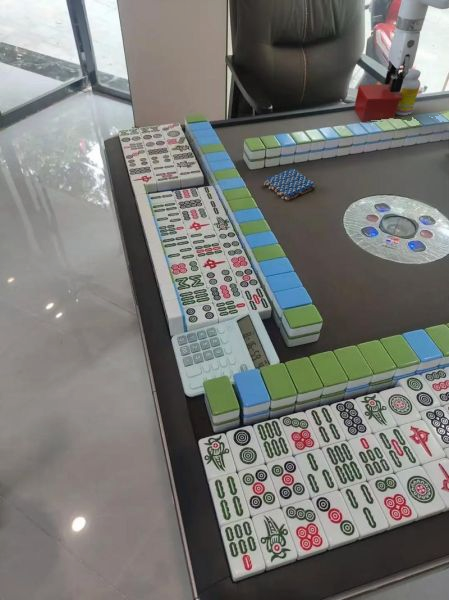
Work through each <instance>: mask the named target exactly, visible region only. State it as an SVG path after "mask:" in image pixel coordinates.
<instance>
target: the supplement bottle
mask: <svg viewBox="0 0 449 600" xmlns="http://www.w3.org/2000/svg"><path fill="white" fill-rule="evenodd" d="M421 73H422V72H421V71H420V70H418V69H415V68H411V69H409V73H408V74H407V75H406V76H405V79H404V80H403V84H402V87H401V91H400V92H398V93H399V94H400V95H401V97H402V100H399V103H398V106H397V110H396V113H395V115H397V116H408V114H409V115H410V114H412V112H413V110H414V105H415V102H416V99H417V97H418V93H419V90H420V87H421V82H420V80H419V78H420V76H421Z"/></svg>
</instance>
